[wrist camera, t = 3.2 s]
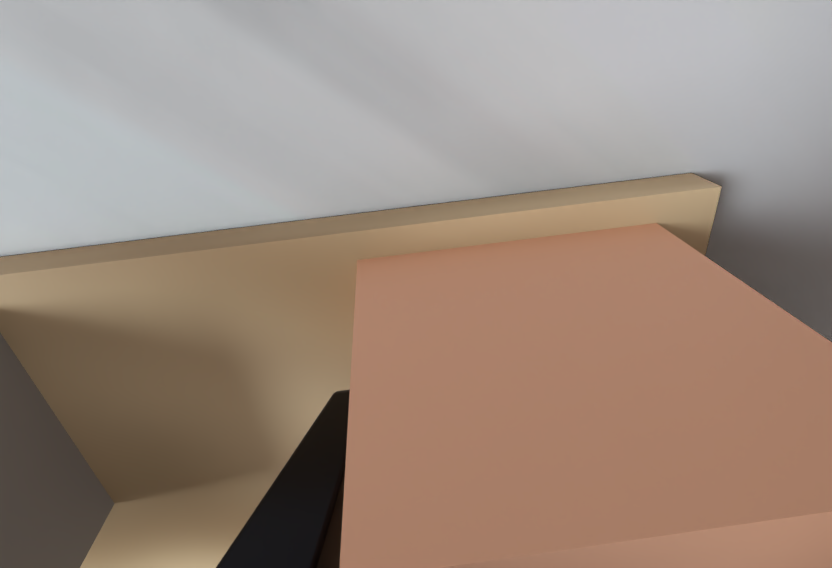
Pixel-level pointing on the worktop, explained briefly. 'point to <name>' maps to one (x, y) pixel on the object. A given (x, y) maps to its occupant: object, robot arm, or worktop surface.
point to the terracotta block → (582, 411)
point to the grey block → (42, 480)
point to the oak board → (246, 345)
